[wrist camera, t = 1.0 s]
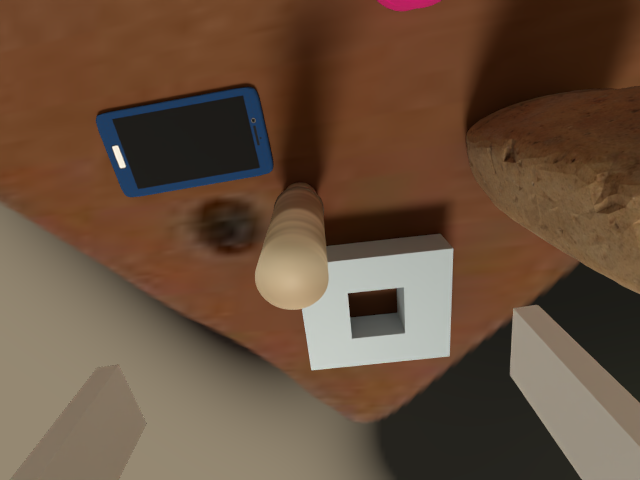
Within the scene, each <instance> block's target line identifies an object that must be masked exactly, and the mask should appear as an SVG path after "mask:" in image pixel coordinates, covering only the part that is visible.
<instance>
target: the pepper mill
mask: <svg viewBox="0 0 640 480" xmlns="http://www.w3.org/2000/svg"><path fill="white" fill-rule="evenodd" d="M377 1H378V2H379V3H380V4H382V5H383V6H385V7H387V8H389V9H392V10H395V11H408V10H412V9H415V8H424V7H428V6H431V5H433V4H436V3H438V2H440V1H441V0H377Z"/></svg>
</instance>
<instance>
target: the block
mask: <svg viewBox="0 0 640 480" xmlns="http://www.w3.org/2000/svg"><path fill="white" fill-rule="evenodd" d="M466 143H467V154H468V158H469V163H470V167H471V170H472V173H473V175H474V177H475V179H476V181H477V182H478V184H479V185H480V186H481V188H482V189H483V191H484V192H485V193H486V194H487V195H488V196H489V198H490V199H491V201H492V202H493V204H494V205H495V206H496V207H497V208H498V209H500V210H501V211H503V212H504V213H505V214H506V215H507V216H508V217H510V218H511V219H513V220H514V221H516V222H517V223H519V224H520V225H522V226H523V227H525V228H527V229H528V230H530V231H532V232H533V233H535V234H536V235H537V236H539V237H540V238H542V239H543V240H545V241H547V242H548V243H550V244H551V245H553V246H555V247H556V248H558V249H559V250H561V251H563V252H564V253H566V254H568V255H570V256H571V257H573V258H575V259H577V260H578V261H580V262H581V263H583V264H585V265H586V266H588V267H590V268H592V269H593V270H595V271H597V272H599V273H601V274H603V275H605V276H607V277H609V278H610V279H612V280H614V281H616V282H617V283H619V284H620V285H622V286H625V287H626V288H628V289H630V290H632V291H635V292H637V293H639V294H640V86H634V87H628V88H622V89H611V88H603V89H585V90H575V91H570V92H563V93H557V94H552V95H546V96H542V97H537V98H534V99H530V100H526V101H523V102H520V103H516V104H514V105H511V106H508V107H506V108H503V109H500V110H498V111H496V112H494V113H492V114H490V115H488V116H487V117H485V118H483V119H481V120H479V121H478V122H477V123H475V124H474V125H473V126H472V127H471V128H470V129H469V130H468V132H467V135H466Z"/></svg>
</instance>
